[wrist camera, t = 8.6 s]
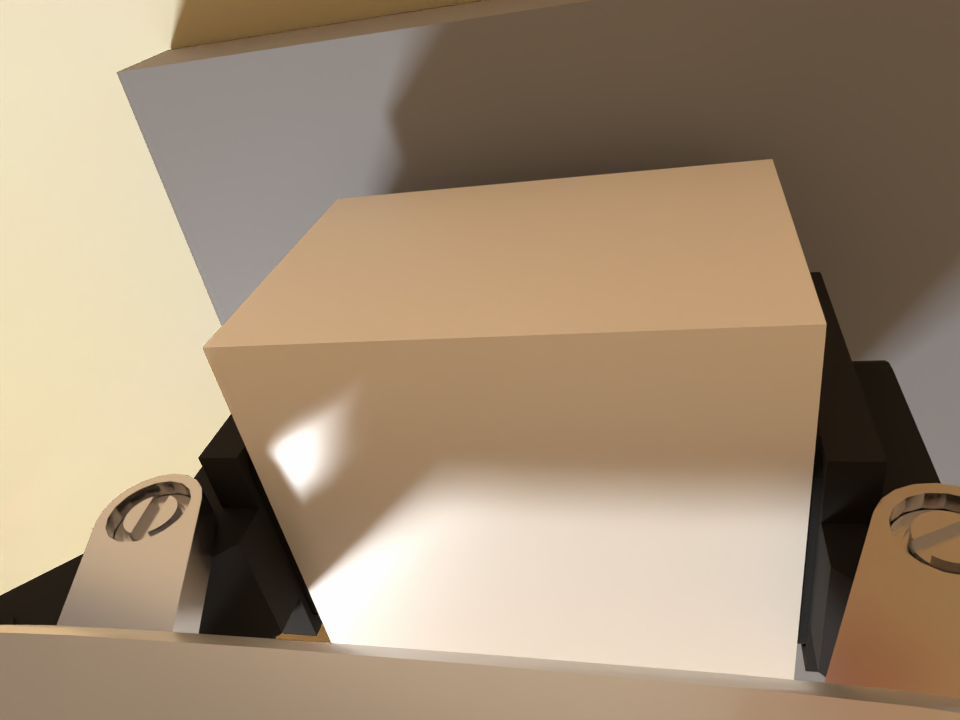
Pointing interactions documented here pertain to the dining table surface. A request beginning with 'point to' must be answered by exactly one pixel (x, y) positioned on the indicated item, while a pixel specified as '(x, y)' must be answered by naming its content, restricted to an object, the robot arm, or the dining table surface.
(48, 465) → the dining table surface
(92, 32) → the dining table surface
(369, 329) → the cream square block
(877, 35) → the post base
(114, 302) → the dining table surface
